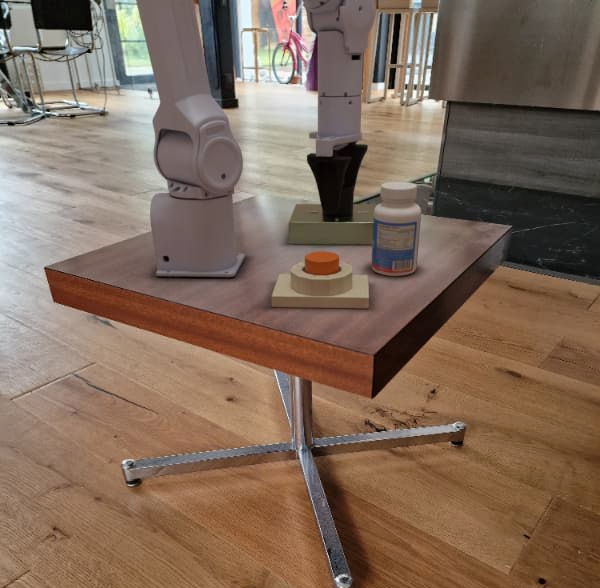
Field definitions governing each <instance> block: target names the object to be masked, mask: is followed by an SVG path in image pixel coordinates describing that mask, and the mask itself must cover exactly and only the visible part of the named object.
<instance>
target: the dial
mask: <svg viewBox="0 0 600 588" xmlns="http://www.w3.org/2000/svg"><path fill="white" fill-rule="evenodd" d="M354 197H355V189H354V186H353V185H352V184H347V183H344V181H343V185H342V193H341V200H340V205H339V208H338V210H337V211H325V210H322V213H323V214H326V215H331V216H344V215H349V214H352V213H353V204H354V200H355V199H354Z"/></svg>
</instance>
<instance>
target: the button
mask: <svg viewBox="0 0 600 588" xmlns="http://www.w3.org/2000/svg"><path fill="white" fill-rule="evenodd" d="M304 261H305V273H307V274H311V275H332V274H336V273H338V272H339V261H340V255H339V254H338V253H335V252H332V251H326V250H325V251H322V250H321V251H313V252H309V253H306V254H305V255H304Z"/></svg>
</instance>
